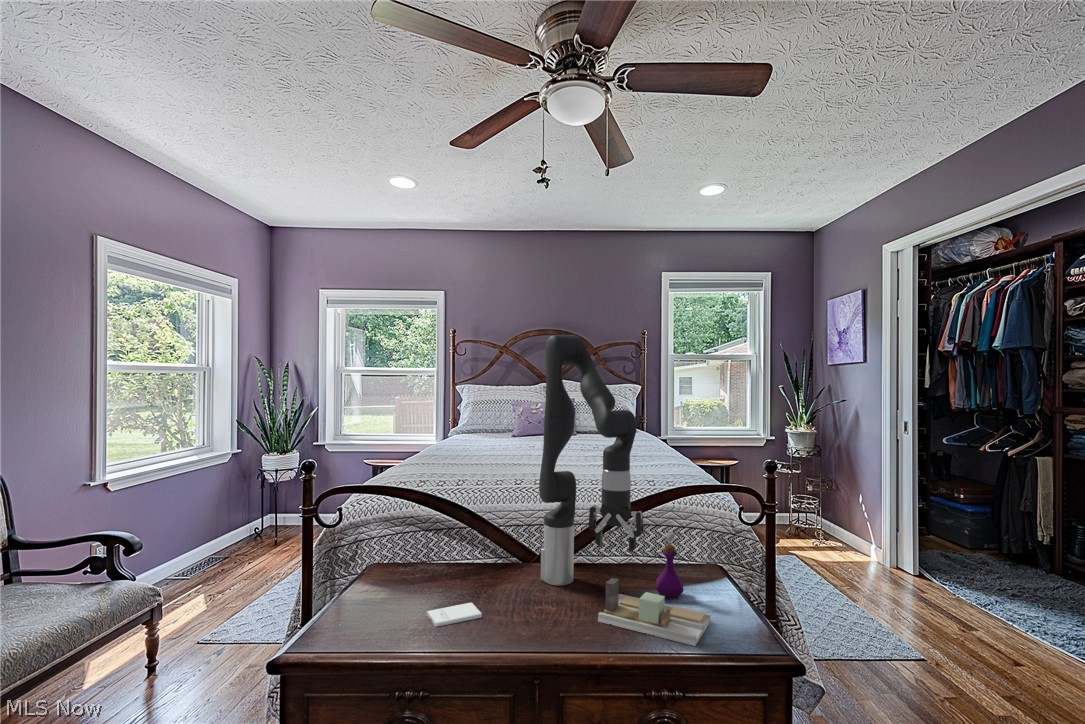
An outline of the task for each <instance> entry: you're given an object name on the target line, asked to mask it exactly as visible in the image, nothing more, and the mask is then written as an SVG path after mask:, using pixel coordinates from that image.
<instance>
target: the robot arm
mask: <svg viewBox="0 0 1085 724" xmlns="http://www.w3.org/2000/svg"><path fill="white" fill-rule="evenodd" d="M545 343H546V345H545V349H544V350H545V352H544V353H545V357H544V358H545V361H544V362H545V385H546V386H545V402H544V403H545V404H544V405H545V406H544V414H543V415H544V417H543V418H544V419H543V443H542V444H543V445H542V446H543V448H542V458H541V465H540V466H541V467H540V475H539V482H538V491H539V497H540V499H541V501H542V502H543V503H546V504H548V503H551V504H553V503H559V505H557V506H556V507H555V508H553V509H552V510H550V511H547V512H546V513H545V514H544V516H543V547H542V548H541V550H540V580H541V581H543V582H544V583H546V584H548V585H551V586H567V585H570V584H572V583H573V582H574V566H575V565H574V564H575V563H574V557H575V555H574V554H575V553H574V551H575V550H574V548H575V547H574V545H575V541H574V540H575V539H574V538H575V517H576V502H577V501H576V500H577V481H576V477H575V473H573V472H572V471H568V470H563V471H560V470H559V471H555V468H556V464H557V460H558V459H559V456H560V454H561V453H562V451H563V450H564V449H565V447H566V445H567V444H568V442H570V440H571V438H572V436H573V433H574V432H575V423H576V422H575V421H576V420H575V419H576V409H575V406H574V403H573V401H572V399H571V397H570V395H569V394H568V391H567V389H566V388H565V385H564V382H563V366H564V367H565V366H567V367H570V366H574V367H576V369H577V370H579V372H580V385H579V387H580V388H579V389H580V393H581V395H582V398H583V399H584V401H585V402H586V403H587V405H588V406H589V408H590V409H591V412H592V417H593V420H594V424H595V427H596V430H597V432H598V433H599V434H600V435H601V436H603V437H604V438H608V439H609V438H615V440H614V443H613V444H611V445H609V446H607V447H604V449H603V451H602V474H601V507H599V506H597V505H596V504H594V505H592V506H591V507H589V511H588V512H589V513H588V514H589V515H588V516H589V517H588V529H589V530H592V531H594V533H595V539H594V541H595V545H597V547H598V548H601V547H602V546H603V542H604V541H603V540H604V539H603V533H604V532H603V529H604V528H605V526H607V525H608V526H611V527H612V526H613V527H614V526H616V527H618V528H621V527H622V528H623V529H624V531H626V533H627V535H629V537H628V552H629V553H633V552H634V551H635V549H636V548H637V537H641V536H642V535H643V534H644V513H643V511H642V510H638V511H632V508H631V497H632V495H631V494H632V493H631V490H632V489H631V488H632V482H631V480H632V479H631V477H632V476H631V464H630V463H631V453H632V449H633V444H634V440H635V437H636V434H637V429H638V422H637V419H636V416H635V414H634V413H633V412H632V411H630V410H629V409H628V410H627V409H621V410H617V409H616V410H614V408H615V406H616V399H615V397H614V394H613V393H612V392H611V390H610V389H609V388H608V386H607V385H606V383H605V382H604V381H603V379H602V378H601V376H600V374H599V372H598V370H597V367H596V366H595V363H594V360H593V359H592V357H591V354H590V351H589V349H588V348H587V345H586V344H585V342H584V341H583V339H582V338H581V337H580V336H578V335H575V334H570V335H569V334H553V335H550V336H549V337H548V338H547V341H546V342H545ZM599 513H600V515H601V517H602V520H601V521H600V522H599V523H598V524H597V516H598V514H599ZM631 517H632V518H633V519H634V521H635V528H636V529H635V528H634V526H633V523H632V522H631V520H630V518H631Z"/></svg>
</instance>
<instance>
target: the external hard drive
mask: <svg viewBox="0 0 1085 724" xmlns="http://www.w3.org/2000/svg"><path fill="white" fill-rule="evenodd" d="M426 615H427V617H428V618H429V619H430V620H431V623H432V624H433V626H434V627H435V628H437V627H441V626H447V625H452V624H456V623H462V622H467V621H472V620H476V619H481V618H483V614H482V611H480V610H479V608H477V606H476V605H475V604H474V603H473V602H467V603H466V602H465V603H461V604H456V605H451V606H447V607H446V606H445V607H442V608H441V607H440V608H435V609H433V610H427V611H426Z"/></svg>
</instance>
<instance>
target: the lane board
mask: <svg viewBox="0 0 1085 724" xmlns="http://www.w3.org/2000/svg"><path fill="white" fill-rule="evenodd" d="M639 598H640V597H636V596H631V595H627V594H622V593H619V605H620V606H624V607H628V608H633V609H637V610H639ZM666 609H670V623H669V624H668V626H667V627H666V628H663V627H659V626H655V625H651V624H647V623H642V622H638V621H634V620H630V619H626V618H622V617H618V616H614V615H610V614H606V613H604V612H601V611H599V612H598V613H597V622H598V623H602V624H606V625H610V624H611V625H610V626H615V627H619V628H623V629H627V630H630V631H634V632H639V633H643V634H645V633H646V634H645V635H649V634H650V636H653V635H654V637H657V638H662V639H666V640H671V641H673V642H678V643H682V644H686V645H689V646H694V647H696V645H697V644H698V642H699V641H700V639H701V637H702V636H703V634H704V633H705V631H706V629H707V628H708V626H709V625H710V623H711V613H707V612H703V611H700V610H694V609H689V608H685V607H681V606H677V605H672V604H667V603H665V611H666Z"/></svg>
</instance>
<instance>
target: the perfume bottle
mask: <svg viewBox="0 0 1085 724" xmlns="http://www.w3.org/2000/svg"><path fill="white" fill-rule="evenodd" d="M664 536H665V537H666V539H667V540H668V543H669V544H666V545H664V550H663V551H662V555H664V556H665V558H666V559H665V560H666V561H665V562H666V563H665V567H664V569H663V570H662V572H661V573H660V574H659V575H658V576H657V578H656V581H655V584H656V585H655V588H656V591H657V592H658V595H662V596H665V599H667V600H678V599H679V598H680V596H681V595H682V593H684V582H683V580H682V579H681V577H680V576H679V574H678V573H677V572H676V569H675V566H674V558H675V557H676V556H678V552H677V551H676V547H675V546H674V545H672V544H671V542H672V541H673V540H674V539H675V536H676V533H674V532H665V533H664Z"/></svg>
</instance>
